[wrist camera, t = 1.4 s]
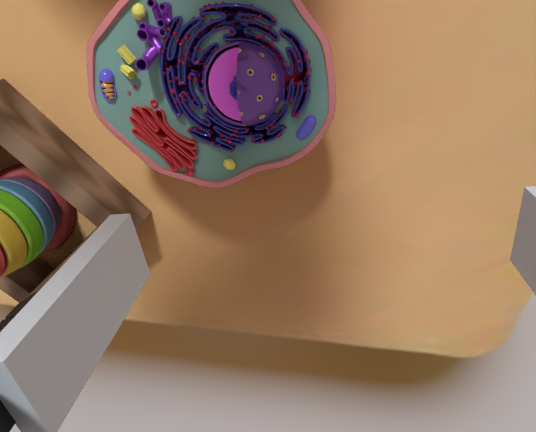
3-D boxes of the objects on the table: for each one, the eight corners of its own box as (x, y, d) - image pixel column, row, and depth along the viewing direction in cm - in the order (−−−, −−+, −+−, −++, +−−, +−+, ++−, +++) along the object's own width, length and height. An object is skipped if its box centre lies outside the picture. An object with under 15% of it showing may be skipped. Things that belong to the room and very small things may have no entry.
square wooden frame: (-72, 190, 48) (-111, 210, 44) (3, 78, 40) (-34, 88, 36) (62, 292, 54) (40, 317, 50) (151, 211, 46) (134, 233, 42)
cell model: (108, -28, 35) (26, -38, 25) (338, -38, 33) (347, -53, 23) (143, 154, 43) (92, 201, 33) (328, 156, 41) (332, 207, 31)
